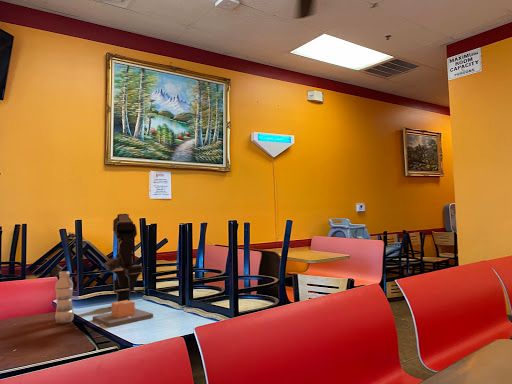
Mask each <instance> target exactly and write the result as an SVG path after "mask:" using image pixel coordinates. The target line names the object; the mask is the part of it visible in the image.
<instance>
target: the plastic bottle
mask: <svg viewBox="0 0 512 384" xmlns="http://www.w3.org/2000/svg"><path fill="white" fill-rule="evenodd" d="M70 276H71V274H70V271H69V270H65V271H64V270H63V271H59V272H58V277H59V278H58V280H57V281H56V282H55V286H54V287H55V290H54V291H55V295H56V310H55V314H54V315H55V316H54V319H55V320H54V321H55V322H56V323H57V324H67V323H70V322H72V321H73V320H74V317H75V314H74V313H75V312H74V308H73V290H74V282H73V281H72V279H71V277H70Z"/></svg>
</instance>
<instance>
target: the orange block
mask: <svg viewBox="0 0 512 384" xmlns="http://www.w3.org/2000/svg"><path fill="white" fill-rule="evenodd" d="M135 303H136V302H135V301H132V300H130V301H129V300H125V301H119V302H117V301H114V302H111V303H110V304H111V306H110V307H111V308H110V310H111V312H110V313H112V316H114V317H117V318H121V317H126V316H130V315H135V306H136V305H135Z"/></svg>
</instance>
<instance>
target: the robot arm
mask: <svg viewBox="0 0 512 384" xmlns="http://www.w3.org/2000/svg"><path fill="white" fill-rule="evenodd" d="M129 216H130V215H129V214H128V213H119V214H117V216H116V218H114V219H113V223H112V231H113V232H114V236H115V239H117V244H118V247H117V248H118V250H117V251H118V252H117V253H116V255H115V257H114V258H112V259H110V260H108V261H106V262H104V263H103V264H104V267H105V269H106V271H109V272H112V273H113V274H114V275H115V279H114V280H113V293H114V294H116V302H119V301H125V300H129V301H131V300H130V297H131V295H130V293H131V292H134V291H135V285H136V283H137V281H138V279H139V277H140V275H141V274H142V273H143V266H142V265H140V264H135V262H134V259H133V258H134V256H135V255H136V253H134V252H133V251H134V249H135V243H134V241H133V238H136V237H137V235H138V232H137V226H136V224H135V223H134V221H133V220H132V219H131V217H129Z"/></svg>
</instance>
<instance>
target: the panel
mask: <svg viewBox="0 0 512 384" xmlns="http://www.w3.org/2000/svg"><path fill="white" fill-rule="evenodd" d="M153 318H154V313H152V312H149V311H145V310H142V309H138V308H135V315H130V316H126V317H121V318H117V317H114V316H112V313H111V312H108V313H102V314H99V315H94V316H93V315H92V321H93V322H95V323H99V324H101V325H103V326H105V327H108V328H113V327H116V326H121V325H125V324H126V323H127V324H130V323H135V322H139V321H144V320H149V319H153Z"/></svg>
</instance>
